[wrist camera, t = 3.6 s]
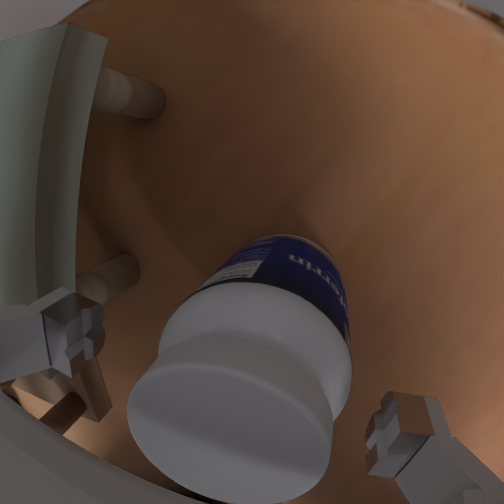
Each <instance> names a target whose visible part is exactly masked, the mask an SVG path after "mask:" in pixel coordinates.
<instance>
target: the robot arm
mask: <svg viewBox="0 0 504 504" xmlns="http://www.w3.org/2000/svg"><path fill="white" fill-rule="evenodd" d="M103 319H104V307H103V306H102V305H101V304H100V303H97V302H95V301H93V300H91V299H89V298H87V297H84V296H82V295H80V294H78V293H75V292H74V291H71V290H69V289H67V288H64V287H60V288H58V289H56V290H54V291H53V292H51V293H49V294H47V295H45V296H44V297H42V298H40V299H38V300H37V301H35V302H33V303H31V304H30V305H28V306H27V305H25V304H21V305H11V306H1V307H0V383H3V382H6V381H9V380H13V379H16V378H19V377H23V376H26V375H29V374H32V373H35V372H39V371H42V370H45V369H48V368H50V366H51V367H53V368H54V369H56V370H58V371H60V372H62V373H63V374H65V375H67V376H69V377H71V378H73V377H74V376H75V375H76V374H77V373H78V372H79V371H81V370H82V369H83V368H84V367H85V360H88V359H93V358H95V357H96V356H97V355H98V354H99V353H100V351H101V349H102V347H103V345H104V340H105V330H104V328H103V326H102V324H101V321H102V320H103ZM365 444H366V446H367V447H368V448H369V449H370V451H369V453H368V454H367V455H366V470H367V475H372V476H380V477H389V478H395V479H394V480H395V482H396V483H397V485H398V486H399V488H400V490H401V491H402V493H403V494H404V496H405V497H406V499H407V500H408V502H409V504H504V482H503V481H501V480H500V479H499V478H498V477H497V476H496V475H495V474H494V473H493V472H492V471H491V470H490V469H489V468H488V467H487V466H486V465H484V464H483V463H482V462H481V461H480V460H479V459H478V458H477V457H476V456H475V455H474V454H473V453H472V452H471V451H470V450H469V449H467V448H466V447H465V446H464V445H463V444H462V443H461V442H460V441H459V440H458V439H457V438H456V437H451V434H450V431H449V428H448V425H447V422H446V419H445V416H444V413H443V410H442V408H441V405H440V402H439V400H438V399H437V398H436V397H430V396H417V395H411V394H404V393H398V392H392V391H388V392H387V393H386V394H385V395H384V397H383V398H382V400H381V409H380V410H378V411H376V412H374V413H373V415H372V417H371V419H370V420H369V422H368V426H367V429H366V434H365ZM0 504H206V503H203V502H200V501H197V500H195V499H192V498H189V497H186V496H183V495H181V494H178V493H175V492H173V491H170V490H168V489H165V488H163V487H160V486H158V485H156V484H153V483H151V482H149V481H146V480H144V479H142V478H140V477H137V476H135V475H133V474H131V473H129V472H127V471H125V470H123V469H121V468H119V467H117V466H115V465H113V464H111V463H109V462H107V461H105V460H103V459H101V458H99V457H98V456H96V455H94V454H92V453H90V452H89V451H87V450H85V449H84V448H82V447H80V446H78V445H77V444H75V443H73V442H72V441H70V440H69V439H67V438H65V437H64V436H62V435H61V434H59V433H58V432H56V431H54V430H53V429H51V428H50V427H48V426H47V425H46V424H44V423H43V422H41V421H40V420H38V419H37V418H36V417H34V416H33V415H31V414H30V413H29V412H27V411H26V410H25V409H23V408H22V407H21V406H19V405H18V404H17V403H15V402H14V401H13V400H12V399H10V398H9V397H8V396H7V395H5V394H4V393H3V392H2V389H1V386H0Z"/></svg>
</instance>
